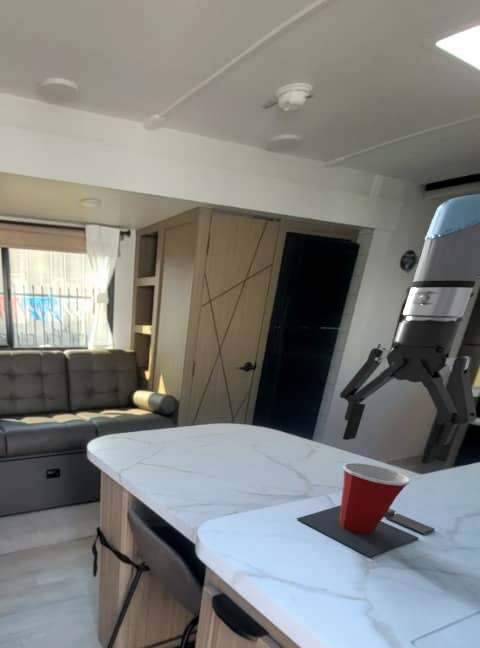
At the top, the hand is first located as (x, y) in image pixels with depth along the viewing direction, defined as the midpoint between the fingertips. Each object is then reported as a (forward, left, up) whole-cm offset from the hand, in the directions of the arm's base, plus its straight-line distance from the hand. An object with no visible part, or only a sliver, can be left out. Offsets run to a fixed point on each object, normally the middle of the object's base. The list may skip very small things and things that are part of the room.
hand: (385, 449), depth 72 cm
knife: (-8, -9, -16) cm, 20 cm away
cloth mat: (0, 0, -16) cm, 16 cm away
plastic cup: (0, 0, -16) cm, 16 cm away
